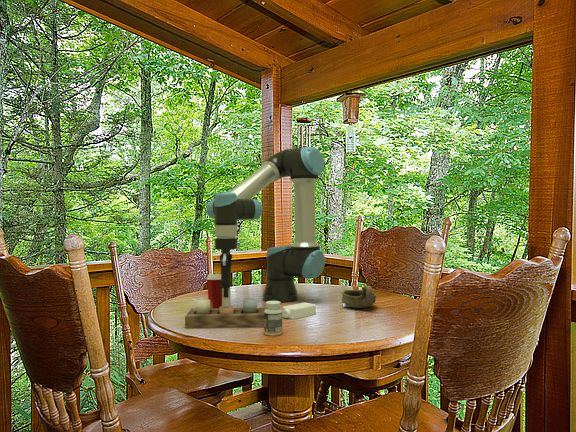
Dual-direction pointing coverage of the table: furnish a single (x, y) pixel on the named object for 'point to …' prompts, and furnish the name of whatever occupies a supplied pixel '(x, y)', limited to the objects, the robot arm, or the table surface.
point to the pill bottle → (273, 318)
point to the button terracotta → (227, 310)
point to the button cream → (203, 306)
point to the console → (225, 319)
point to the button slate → (249, 305)
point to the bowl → (359, 297)
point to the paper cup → (214, 290)
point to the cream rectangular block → (298, 310)
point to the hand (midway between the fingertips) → (226, 306)
